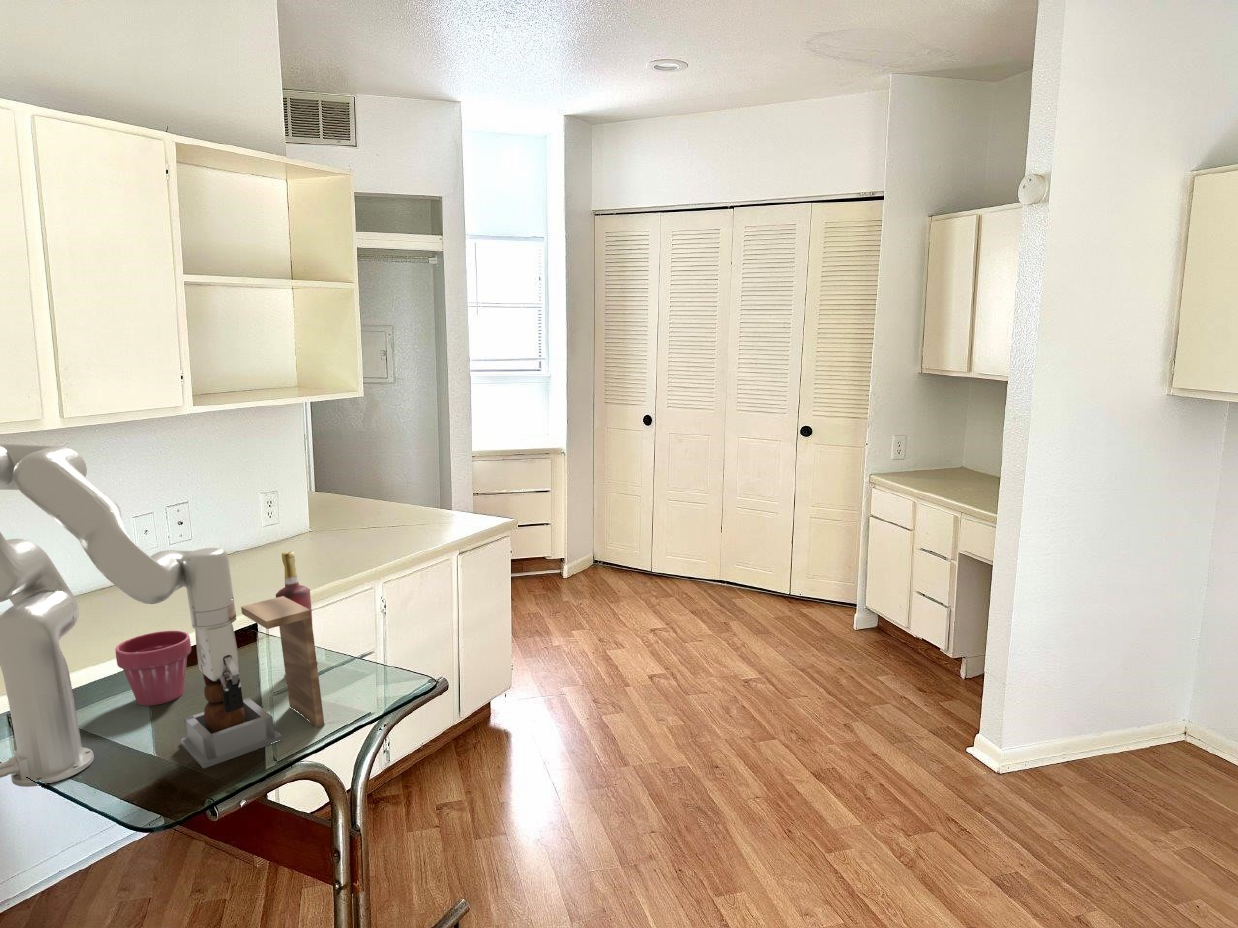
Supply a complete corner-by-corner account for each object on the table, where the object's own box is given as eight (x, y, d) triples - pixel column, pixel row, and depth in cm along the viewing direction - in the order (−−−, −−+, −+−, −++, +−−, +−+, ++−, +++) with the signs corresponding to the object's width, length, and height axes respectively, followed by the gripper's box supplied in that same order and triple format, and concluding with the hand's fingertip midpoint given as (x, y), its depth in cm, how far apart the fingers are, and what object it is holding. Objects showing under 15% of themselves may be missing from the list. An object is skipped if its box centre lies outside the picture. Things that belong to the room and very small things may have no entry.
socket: (203, 768, 152) (199, 742, 151) (181, 743, 162) (177, 719, 161) (282, 740, 161) (278, 715, 160) (256, 718, 171) (252, 695, 171)
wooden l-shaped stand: (282, 740, 161) (266, 621, 157) (256, 718, 171) (240, 606, 168) (324, 725, 166) (310, 609, 163) (296, 704, 177) (283, 596, 173)
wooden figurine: (203, 743, 160) (185, 669, 157) (227, 727, 165) (209, 655, 162) (231, 745, 157) (213, 670, 155) (254, 729, 163) (237, 656, 160)
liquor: (324, 664, 199) (310, 548, 194) (312, 676, 191) (297, 556, 187) (293, 666, 199) (278, 549, 195) (280, 678, 192) (264, 558, 187)
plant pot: (210, 682, 192) (202, 628, 190) (172, 710, 178) (163, 652, 176) (151, 684, 193) (142, 630, 191) (108, 711, 179) (99, 653, 177)
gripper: (178, 611, 162) (191, 696, 164) (206, 630, 149) (219, 722, 151) (219, 601, 167) (231, 683, 169) (250, 619, 154) (262, 708, 156)
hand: (225, 702), depth 160 cm, fingers open, 9 cm apart
